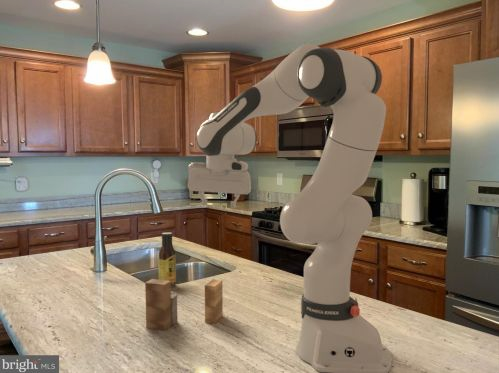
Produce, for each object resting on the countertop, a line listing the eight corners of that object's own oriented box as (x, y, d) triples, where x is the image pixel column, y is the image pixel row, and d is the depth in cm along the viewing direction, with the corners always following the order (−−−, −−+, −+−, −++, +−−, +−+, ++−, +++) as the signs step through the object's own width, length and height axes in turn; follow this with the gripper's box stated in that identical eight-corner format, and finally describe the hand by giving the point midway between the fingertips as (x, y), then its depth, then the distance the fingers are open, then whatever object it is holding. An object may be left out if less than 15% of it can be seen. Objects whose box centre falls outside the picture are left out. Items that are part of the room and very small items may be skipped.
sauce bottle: (172, 289, 145) (171, 235, 143) (156, 288, 146) (154, 234, 144) (178, 283, 151) (177, 231, 149) (163, 282, 152) (162, 231, 151)
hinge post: (177, 321, 116) (176, 278, 115) (166, 330, 110) (166, 284, 109) (156, 318, 118) (155, 276, 117) (144, 327, 112) (143, 282, 111)
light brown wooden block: (222, 315, 121) (222, 280, 120) (215, 323, 115) (214, 286, 114) (212, 314, 122) (212, 279, 121) (205, 322, 116) (204, 285, 115)
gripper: (185, 162, 124) (184, 205, 126) (250, 165, 122) (248, 210, 124) (191, 161, 131) (190, 202, 132) (252, 164, 128) (250, 206, 130)
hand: (218, 206), depth 128 cm, fingers open, 8 cm apart
